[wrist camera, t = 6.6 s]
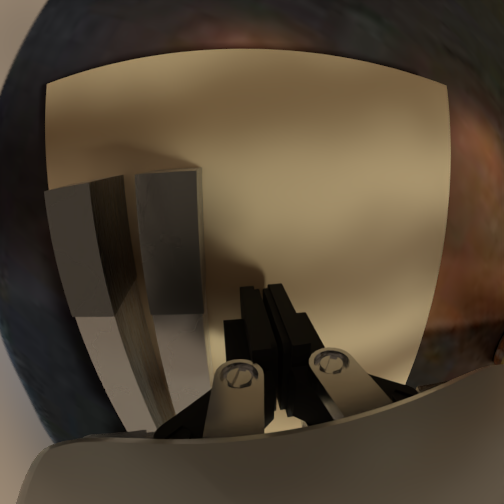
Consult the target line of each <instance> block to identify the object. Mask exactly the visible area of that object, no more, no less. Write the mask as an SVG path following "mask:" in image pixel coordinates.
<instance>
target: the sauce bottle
mask: <svg viewBox="0 0 504 504" xmlns="http://www.w3.org/2000/svg"><path fill="white" fill-rule="evenodd" d="M494 364H495V365H499V364H504V335H503V336H502V338H501V340H500V342H499V345H498V347H497V350H496V352H495V355H494Z"/></svg>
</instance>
